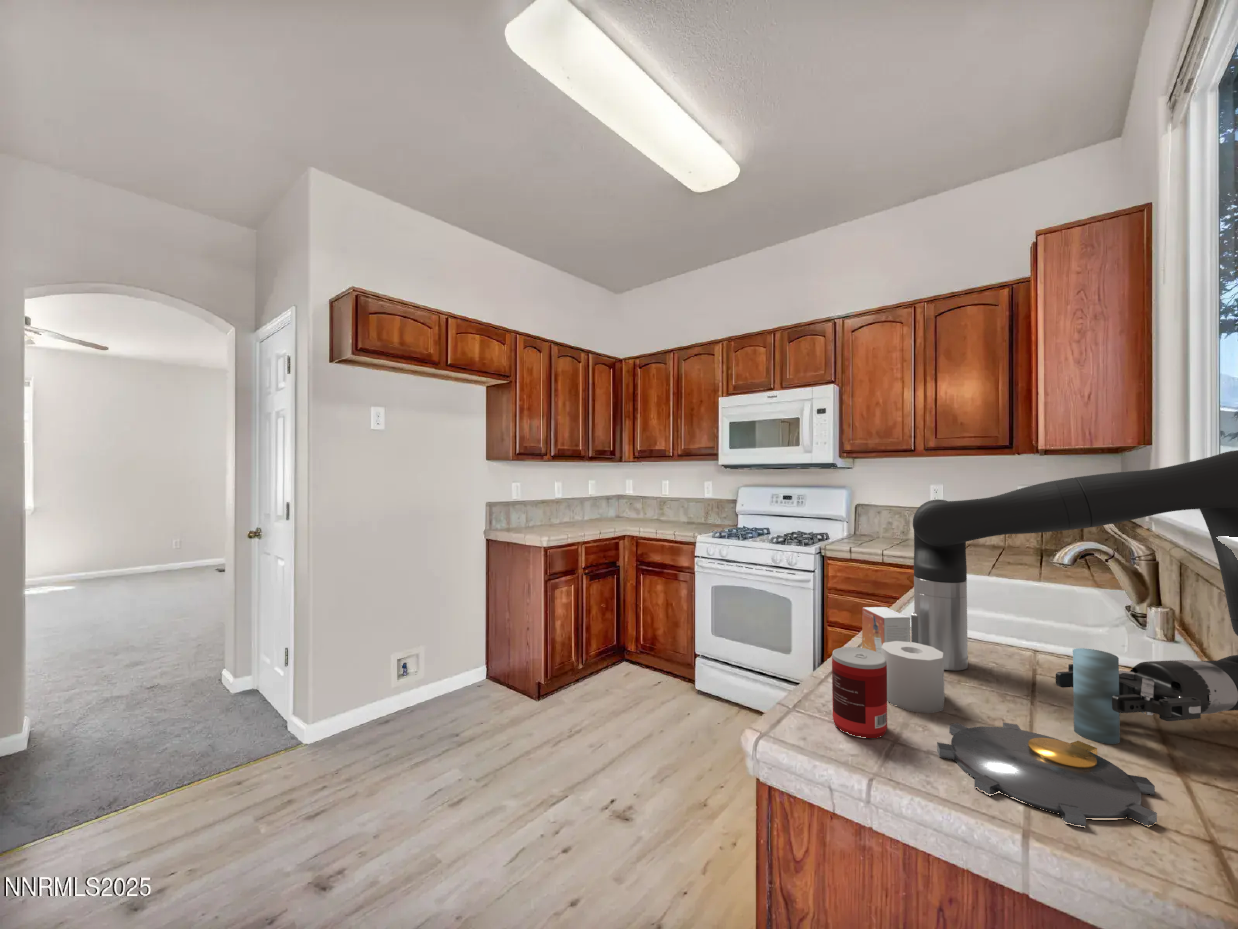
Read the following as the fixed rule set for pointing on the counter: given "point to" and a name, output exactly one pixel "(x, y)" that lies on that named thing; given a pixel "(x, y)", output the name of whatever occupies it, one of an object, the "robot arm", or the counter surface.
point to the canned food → (859, 691)
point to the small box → (883, 627)
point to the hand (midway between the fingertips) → (1084, 691)
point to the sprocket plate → (1048, 773)
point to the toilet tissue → (914, 676)
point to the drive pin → (1096, 695)
